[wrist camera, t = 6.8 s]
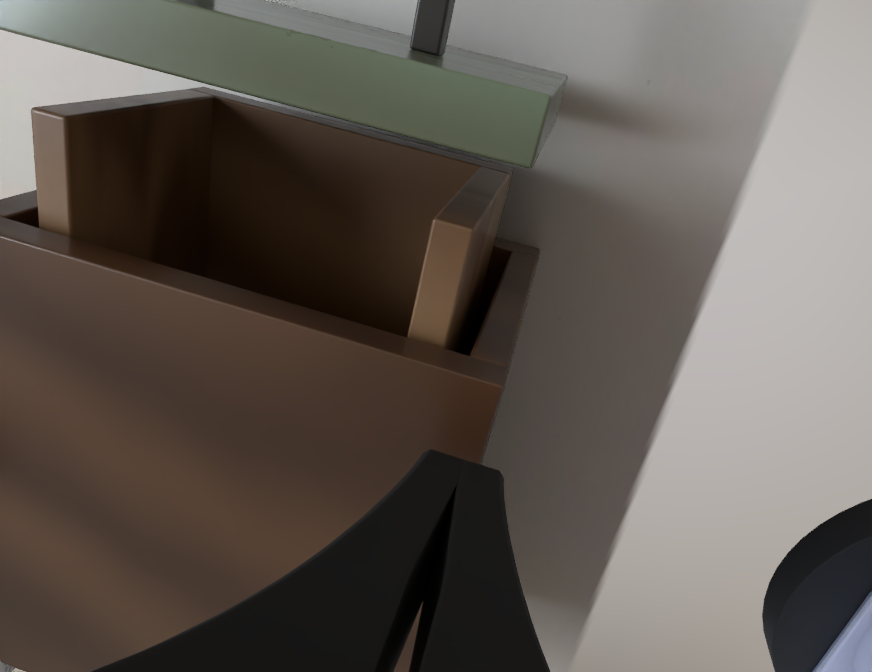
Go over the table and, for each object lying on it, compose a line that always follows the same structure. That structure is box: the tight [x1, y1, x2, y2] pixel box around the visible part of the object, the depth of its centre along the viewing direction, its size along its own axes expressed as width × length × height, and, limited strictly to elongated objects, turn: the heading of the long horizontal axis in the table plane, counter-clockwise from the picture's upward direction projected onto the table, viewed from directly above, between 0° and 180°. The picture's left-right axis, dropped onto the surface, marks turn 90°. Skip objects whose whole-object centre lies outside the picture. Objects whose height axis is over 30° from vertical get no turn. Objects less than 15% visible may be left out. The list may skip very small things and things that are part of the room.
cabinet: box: [0, 190, 540, 672], centre depth 19 cm, size 14×12×9 cm
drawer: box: [0, 0, 568, 355], centre depth 16 cm, size 17×10×7 cm, turn 168°
